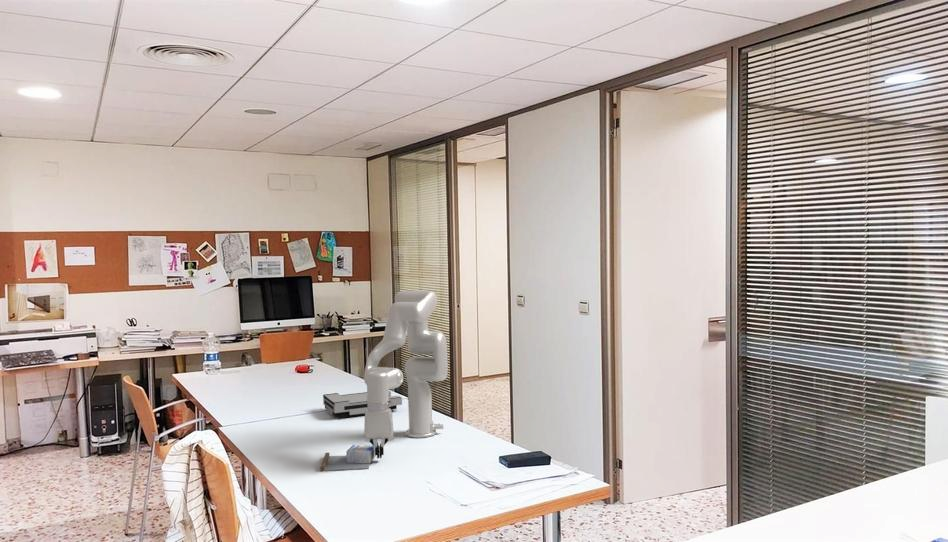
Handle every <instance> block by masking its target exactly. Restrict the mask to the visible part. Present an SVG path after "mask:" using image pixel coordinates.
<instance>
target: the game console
mask: <svg viewBox="0 0 948 542" xmlns="http://www.w3.org/2000/svg"><path fill="white" fill-rule="evenodd" d="M388 395H389V402H393V406H391V407H389V408H390V409H391V412H392V411H393V410H397V409H398V408H397V407H398V406H401V405H403V397H402V396H400V395H392V391H390V389H389V390H388ZM322 397H323V398H322V399H323V405H324V409H325V410H326V412H328V413H329V414H330V415H333V416H334V417H335V418H337V419H338V420H346V419H353V418H361V417H362V418H363V417H365V412H366V410H367V409H368V404H367V391H365V392H364V391H363V392H357V393H347V394H340V393H338V392H334V393H325V394H323V395H322ZM392 413H393V412H392Z"/></svg>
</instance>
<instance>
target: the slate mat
mask: <svg viewBox="0 0 948 542" xmlns="http://www.w3.org/2000/svg"><path fill="white" fill-rule="evenodd" d="M369 468H370V463H347V457H346V454H344V455H330V457H329V459H328V462H327V465H326V467H325V470H324V471H323V472H336V471H339V472H340V471H355V470H360V471H361V470H369Z"/></svg>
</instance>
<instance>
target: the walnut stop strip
mask: <svg viewBox="0 0 948 542" xmlns="http://www.w3.org/2000/svg"><path fill="white" fill-rule="evenodd" d="M330 454H331V453H330V452H325V454H324V456H323V458H322V461H321V464H320V467H319V470H320V472H321V473H322V472H325V471H324V470H325V467H326V465H327V462H328V459H329V457H330V456H331V455H330Z"/></svg>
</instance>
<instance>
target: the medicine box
mask: <svg viewBox="0 0 948 542" xmlns="http://www.w3.org/2000/svg"><path fill="white" fill-rule="evenodd" d="M345 452H346V454H345V455H346V457H347V463H369V464H370V463H371V462H372V461H373V460H374V459H375V458H377V455H375V447H374V446H373V445H372V444H352V446H350V447H349V448H348V449H347V450H345Z"/></svg>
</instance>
